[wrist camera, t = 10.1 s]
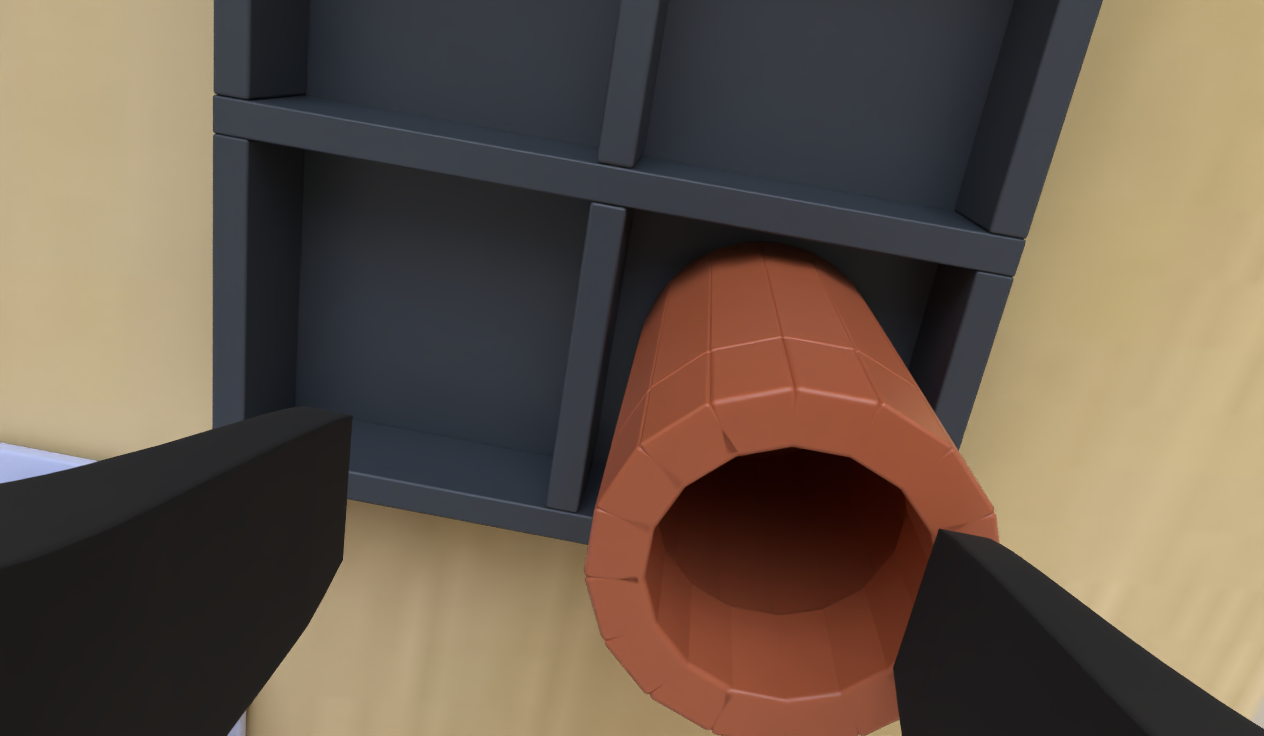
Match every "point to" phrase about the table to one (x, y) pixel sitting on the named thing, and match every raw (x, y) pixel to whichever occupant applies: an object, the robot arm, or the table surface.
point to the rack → (598, 207)
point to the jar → (770, 501)
